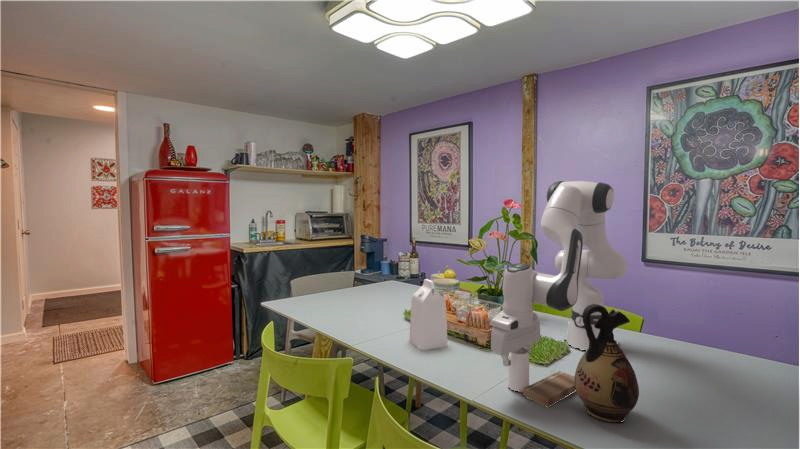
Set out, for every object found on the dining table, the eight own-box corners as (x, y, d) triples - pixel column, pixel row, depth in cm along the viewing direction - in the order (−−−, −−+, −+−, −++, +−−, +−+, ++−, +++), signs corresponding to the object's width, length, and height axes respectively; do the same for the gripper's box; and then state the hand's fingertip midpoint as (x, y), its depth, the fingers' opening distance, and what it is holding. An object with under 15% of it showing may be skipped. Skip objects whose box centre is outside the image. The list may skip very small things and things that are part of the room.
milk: (447, 346, 152) (448, 282, 150) (421, 350, 147) (422, 284, 146) (433, 336, 163) (434, 276, 161) (409, 340, 159) (409, 278, 157)
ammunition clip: (463, 341, 158) (464, 313, 157) (465, 340, 159) (466, 312, 158) (488, 347, 151) (489, 317, 151) (490, 345, 153) (490, 316, 152)
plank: (559, 378, 125) (559, 370, 125) (583, 387, 118) (584, 379, 118) (523, 396, 113) (523, 388, 113) (547, 408, 106) (548, 399, 106)
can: (524, 382, 121) (524, 345, 121) (532, 392, 115) (532, 353, 114) (504, 383, 121) (504, 346, 120) (511, 393, 114) (511, 354, 114)
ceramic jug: (614, 398, 112) (619, 298, 110) (651, 429, 97) (656, 313, 95) (558, 398, 111) (561, 298, 110) (585, 430, 96) (589, 313, 94)
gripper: (528, 308, 124) (527, 350, 125) (487, 321, 112) (486, 366, 113) (546, 313, 119) (545, 356, 120) (505, 326, 107) (504, 374, 108)
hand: (516, 361), depth 117 cm, fingers open, 8 cm apart
